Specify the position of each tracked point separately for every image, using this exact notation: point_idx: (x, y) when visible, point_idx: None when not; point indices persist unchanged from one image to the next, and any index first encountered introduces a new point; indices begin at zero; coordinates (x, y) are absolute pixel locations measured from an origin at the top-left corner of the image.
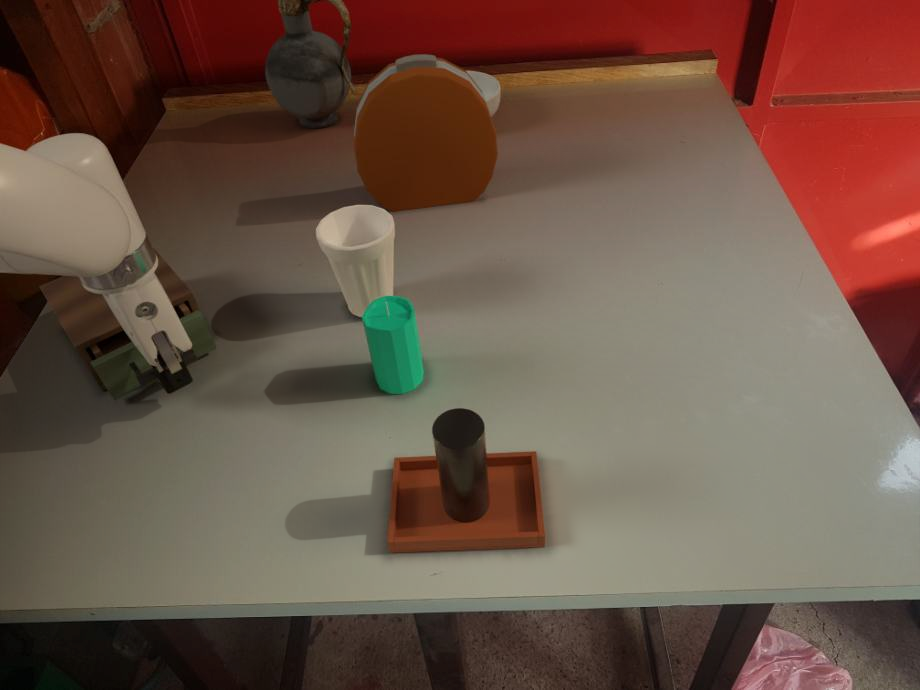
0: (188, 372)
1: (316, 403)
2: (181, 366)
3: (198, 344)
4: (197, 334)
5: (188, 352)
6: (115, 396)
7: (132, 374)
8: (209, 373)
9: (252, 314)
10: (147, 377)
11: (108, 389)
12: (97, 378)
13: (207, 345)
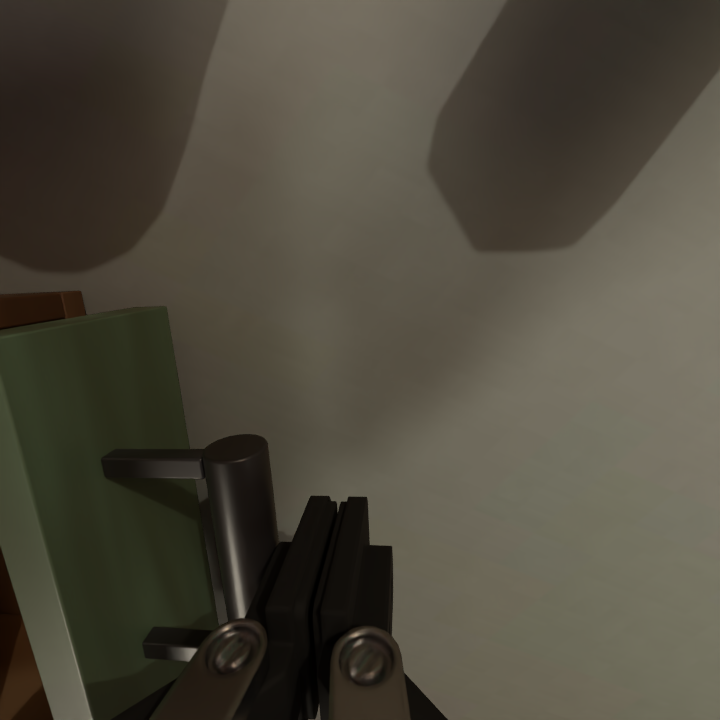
0: (361, 531)
1: (706, 96)
2: (354, 586)
3: (140, 375)
4: (101, 377)
5: (231, 484)
6: None
7: (176, 618)
8: (259, 369)
9: (32, 98)
10: None
11: None
12: None
13: (151, 340)
